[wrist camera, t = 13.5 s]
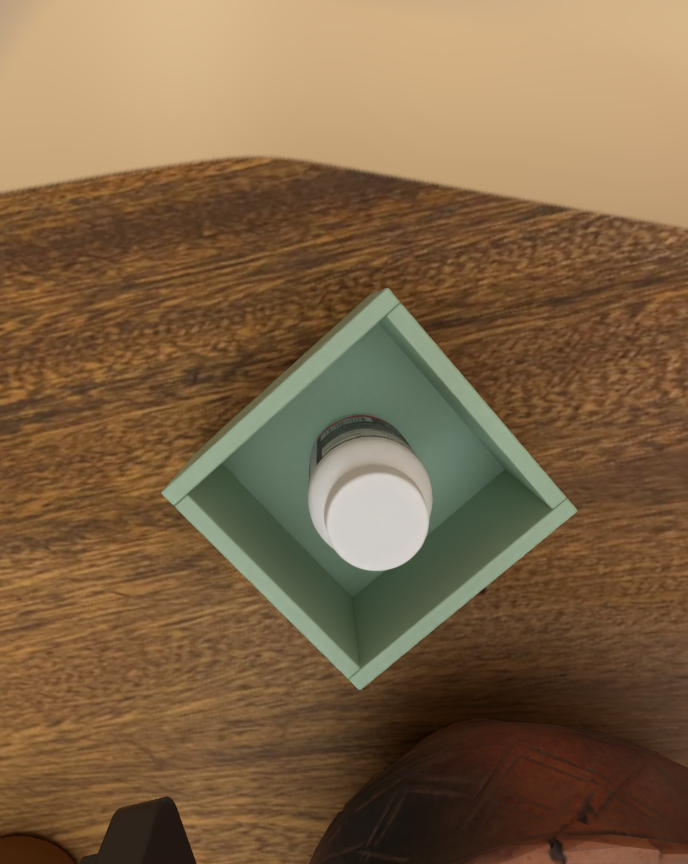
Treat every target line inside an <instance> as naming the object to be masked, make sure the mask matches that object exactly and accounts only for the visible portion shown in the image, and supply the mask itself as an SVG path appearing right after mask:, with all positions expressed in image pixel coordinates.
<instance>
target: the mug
mask: <svg viewBox="0 0 688 864" xmlns="http://www.w3.org/2000/svg"><path fill="white" fill-rule="evenodd" d="M0 864H75V863H74V861H73V860H72V859H71V858H70V856H69V855H68V854H66V853H65V852H64V851H63V850H62V849H60V848H59V847H57V846H56V845H54V844H52V843H50V842H47V841H45V840H42V839H39V838H35V837H29V836H11V837H5V838H1V839H0Z"/></svg>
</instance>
